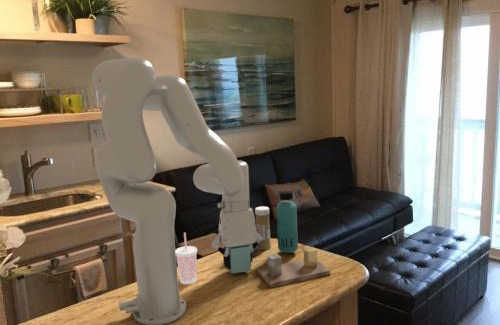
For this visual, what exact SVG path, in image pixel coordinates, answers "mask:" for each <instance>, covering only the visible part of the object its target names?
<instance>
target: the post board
mask: <svg viewBox="0 0 500 325" xmlns="http://www.w3.org/2000/svg"><path fill="white" fill-rule="evenodd" d="M256 274H257V275H258V276H260V278H261V279H262V280H263V281H264V282H265V284H267V285H268V287H270V288H276V287H280V286H284V285H289V284H294V283H298V282H302V281H307V280H312V279H316V278H320V277H325V276H330V275H331V270H330V269H329V268H328V267H326V266H325V265H324V264H323V263H321V262H320V261H319V260H317V267H315V268H310V269H308V268H307V267H306V266H304V258H303V259H299V260H294V261H289V262H284V263H282V257H281V255H279V254H278V253H274V254H270V255H269V254H268V255H267V266H265V267H258V268H256Z"/></svg>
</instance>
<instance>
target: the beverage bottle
mask: <svg viewBox="0 0 500 325" xmlns="http://www.w3.org/2000/svg"><path fill="white" fill-rule="evenodd" d="M279 199H280V200H281V201H280V202H279V203H278V204H277V205H276V226H277V235H276V236H277V241H276V242H277V248H278V250H279V251H280V252H283V253H294V252H296V251H297V250H298V248H299V244H298V243H299V240H298V237H299V236H298V214H297V213H298V212H297V207H298V206H297V204H296V203H295V202H294V201H292V200H293V199H294V194H293V191H291V190H282V191H280V192H279Z"/></svg>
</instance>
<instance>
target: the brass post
mask: <svg viewBox="0 0 500 325" xmlns="http://www.w3.org/2000/svg"><path fill="white" fill-rule="evenodd" d="M303 259H304V266H306V267H307V268H308V269H310V268H315V267H317V261H318V250H317V249H316V248H315V247H313V246H309V247H306V248H303Z"/></svg>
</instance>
